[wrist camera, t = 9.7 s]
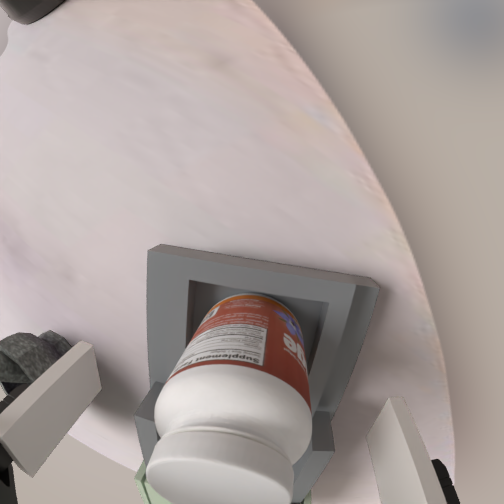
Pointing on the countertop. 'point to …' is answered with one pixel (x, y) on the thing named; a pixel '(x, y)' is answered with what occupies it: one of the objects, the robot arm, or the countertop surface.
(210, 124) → the countertop surface
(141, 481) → the cover
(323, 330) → the housing base
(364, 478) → the countertop surface
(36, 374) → the mortar and pestle
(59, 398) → the robot arm
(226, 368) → the pill bottle
